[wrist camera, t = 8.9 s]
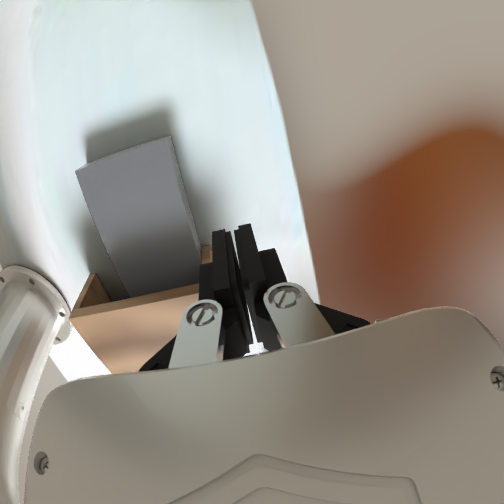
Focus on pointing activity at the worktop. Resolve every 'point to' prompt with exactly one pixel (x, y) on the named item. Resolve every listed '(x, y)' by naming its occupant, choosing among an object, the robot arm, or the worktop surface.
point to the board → (144, 217)
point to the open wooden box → (130, 321)
